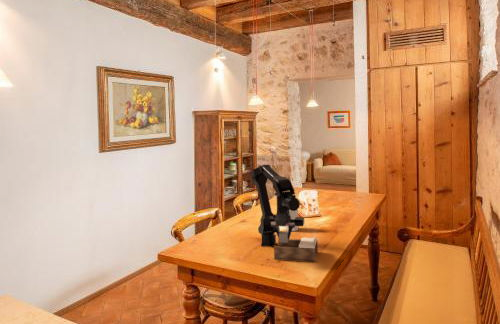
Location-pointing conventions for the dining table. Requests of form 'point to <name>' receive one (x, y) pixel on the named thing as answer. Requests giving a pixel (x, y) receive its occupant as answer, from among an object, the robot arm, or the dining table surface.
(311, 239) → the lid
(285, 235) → the block
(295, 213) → the milk bottle
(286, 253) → the box
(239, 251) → the dining table surface
